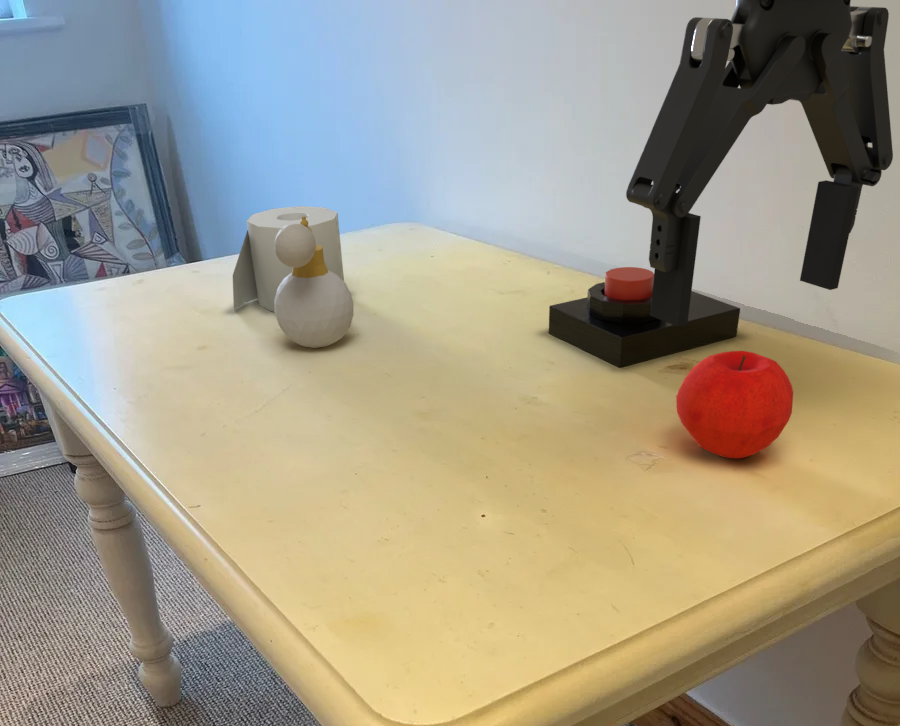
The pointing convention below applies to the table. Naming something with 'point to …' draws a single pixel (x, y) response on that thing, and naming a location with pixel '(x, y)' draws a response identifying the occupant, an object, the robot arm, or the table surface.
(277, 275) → the toilet tissue
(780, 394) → the apple
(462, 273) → the table surface
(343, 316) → the perfume bottle
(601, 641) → the table surface
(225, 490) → the table surface
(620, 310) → the button base
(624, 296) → the button
